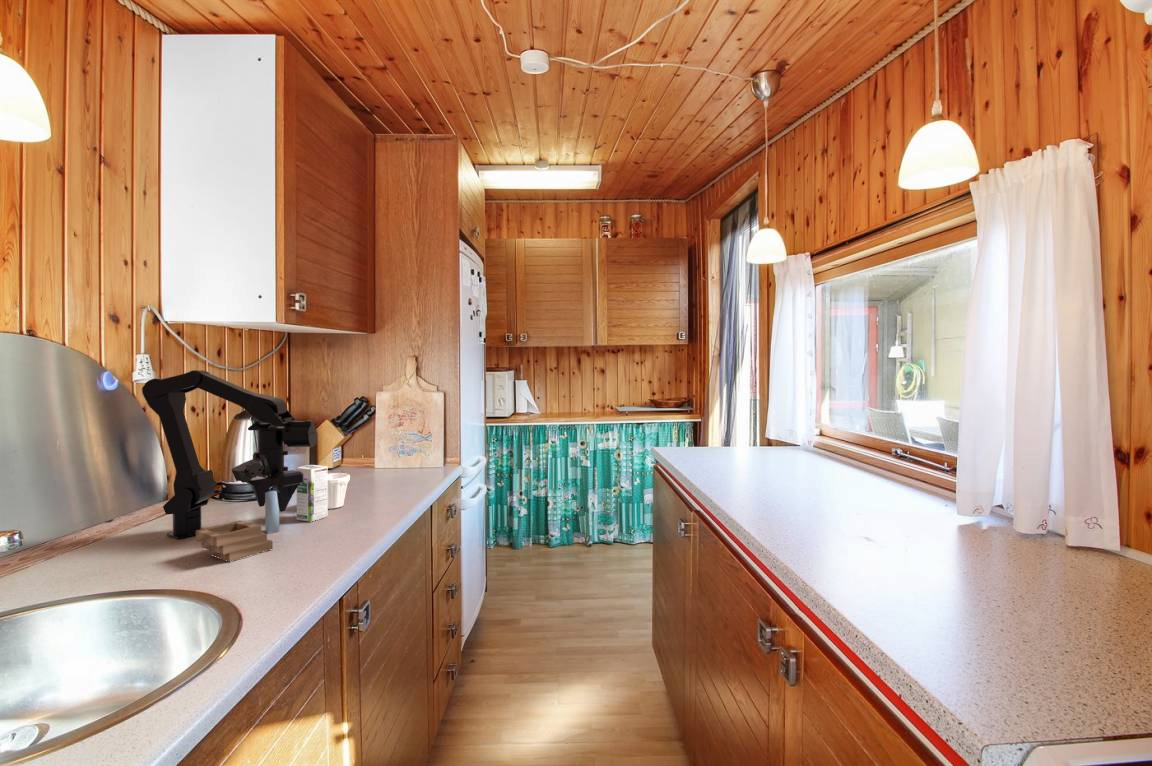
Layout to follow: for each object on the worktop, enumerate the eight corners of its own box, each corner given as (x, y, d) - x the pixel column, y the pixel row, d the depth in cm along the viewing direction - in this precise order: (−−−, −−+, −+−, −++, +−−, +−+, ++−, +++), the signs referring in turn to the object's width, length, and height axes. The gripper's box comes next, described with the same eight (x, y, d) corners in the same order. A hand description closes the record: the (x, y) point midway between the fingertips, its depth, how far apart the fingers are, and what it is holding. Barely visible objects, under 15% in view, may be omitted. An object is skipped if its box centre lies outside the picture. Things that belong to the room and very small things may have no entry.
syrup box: (295, 520, 140) (294, 467, 139) (314, 514, 145) (313, 463, 145) (310, 522, 138) (310, 468, 137) (329, 516, 143) (328, 465, 143)
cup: (340, 511, 148) (340, 480, 148) (306, 511, 148) (306, 479, 148) (356, 502, 158) (355, 473, 158) (323, 502, 158) (323, 473, 158)
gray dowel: (263, 532, 129) (262, 492, 129) (275, 528, 132) (274, 490, 132) (269, 533, 128) (269, 494, 128) (281, 530, 131) (281, 491, 130)
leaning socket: (196, 558, 111) (195, 530, 111) (251, 542, 121) (250, 517, 121) (217, 566, 107) (216, 537, 107) (272, 549, 117) (272, 523, 117)
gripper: (216, 448, 127) (217, 511, 128) (258, 455, 118) (259, 522, 118) (263, 443, 137) (263, 501, 137) (304, 448, 127) (305, 511, 128)
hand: (271, 508), depth 130 cm, fingers open, 9 cm apart
